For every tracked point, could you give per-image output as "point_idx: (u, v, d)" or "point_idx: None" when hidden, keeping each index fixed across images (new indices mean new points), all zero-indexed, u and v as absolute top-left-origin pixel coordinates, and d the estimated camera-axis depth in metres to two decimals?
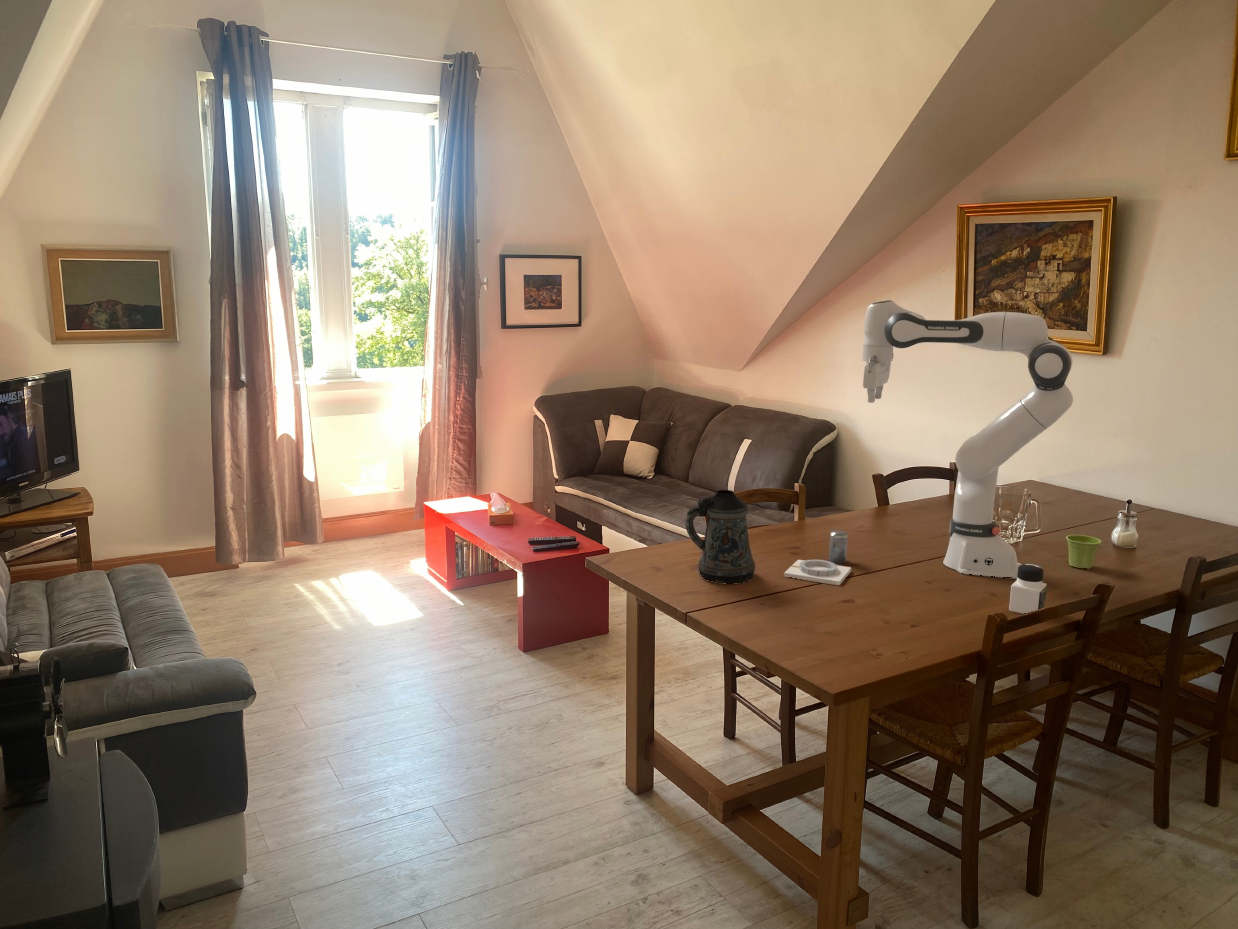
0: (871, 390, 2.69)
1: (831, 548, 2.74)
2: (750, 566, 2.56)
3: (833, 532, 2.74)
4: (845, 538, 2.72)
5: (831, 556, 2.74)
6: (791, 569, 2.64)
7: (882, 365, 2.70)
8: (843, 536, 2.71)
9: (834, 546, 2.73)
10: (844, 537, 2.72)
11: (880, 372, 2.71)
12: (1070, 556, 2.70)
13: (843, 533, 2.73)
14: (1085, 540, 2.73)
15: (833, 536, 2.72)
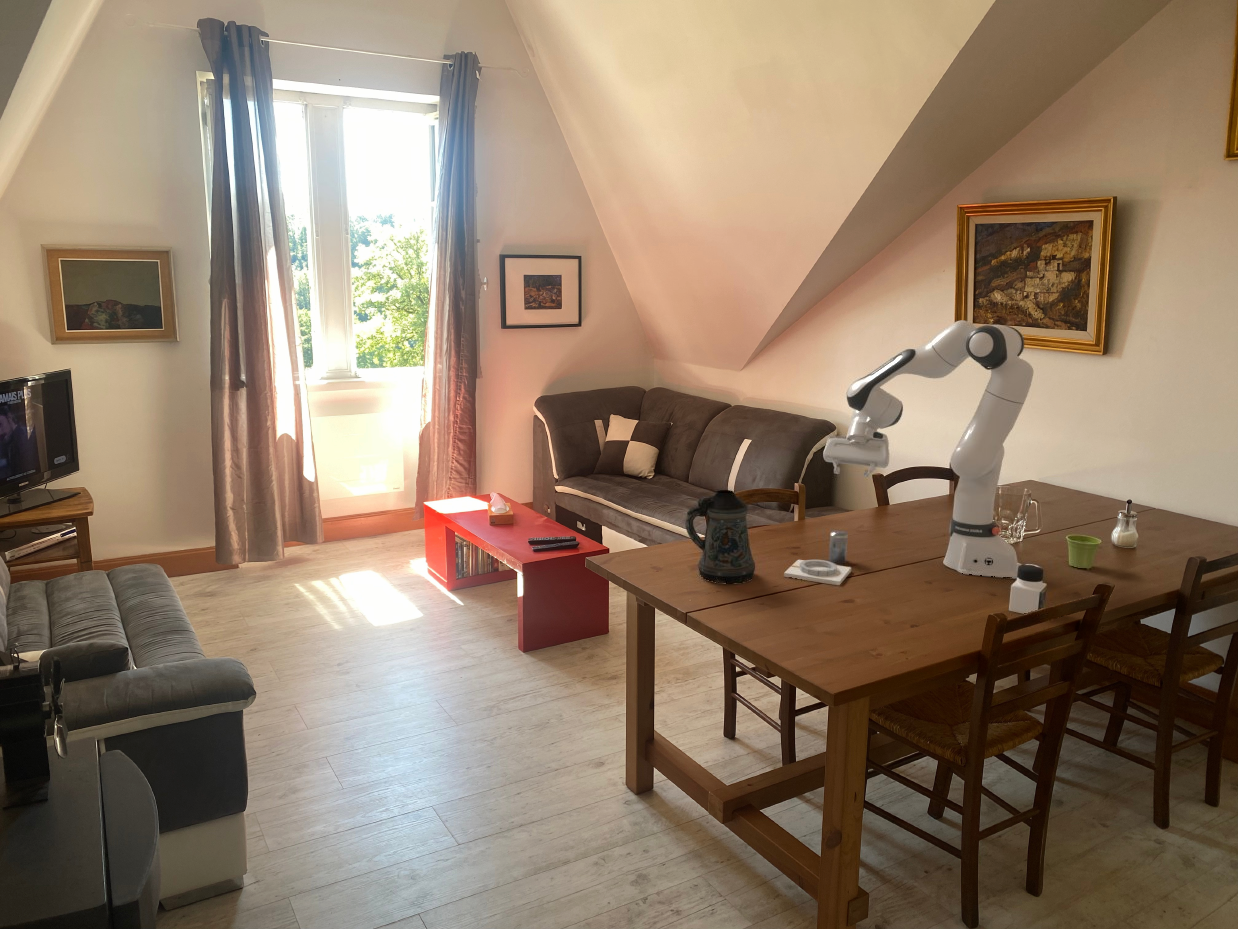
0: None
1: (831, 548, 2.74)
2: (750, 566, 2.56)
3: (833, 532, 2.74)
4: (845, 538, 2.72)
5: (831, 556, 2.74)
6: (791, 569, 2.64)
7: (850, 441, 2.86)
8: (843, 536, 2.71)
9: (834, 546, 2.73)
10: (844, 537, 2.72)
11: (851, 448, 2.85)
12: (1070, 556, 2.70)
13: (843, 533, 2.73)
14: (1085, 540, 2.73)
15: (833, 536, 2.72)
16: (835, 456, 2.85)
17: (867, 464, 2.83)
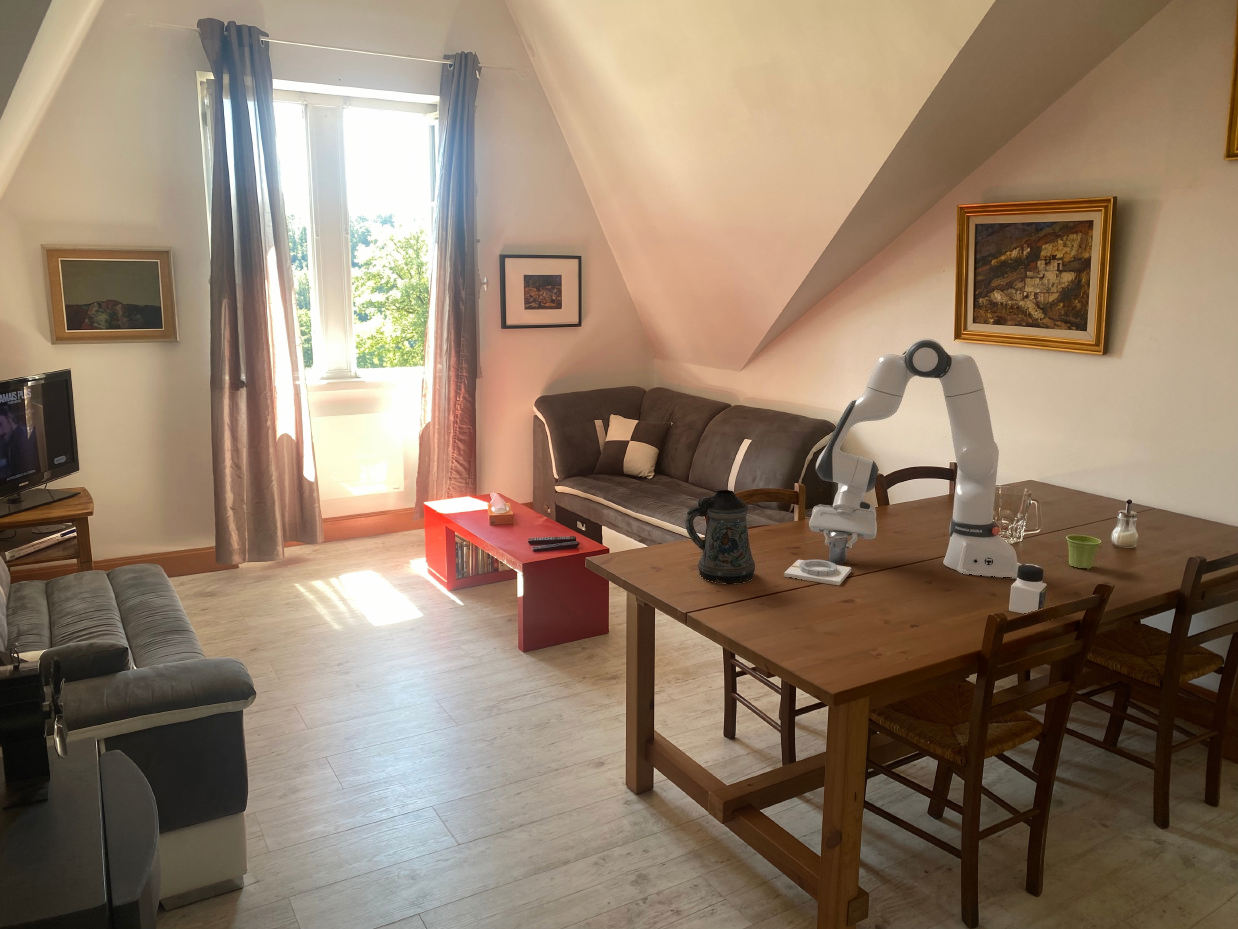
0: None
1: (831, 548, 2.74)
2: (750, 566, 2.56)
3: (833, 532, 2.74)
4: (845, 538, 2.72)
5: (831, 556, 2.74)
6: (791, 569, 2.64)
7: (837, 511, 2.79)
8: (843, 536, 2.71)
9: (834, 546, 2.73)
10: (844, 537, 2.72)
11: (837, 518, 2.78)
12: (1070, 556, 2.70)
13: (843, 533, 2.73)
14: (1085, 540, 2.73)
15: (833, 536, 2.72)
16: (821, 526, 2.78)
17: None
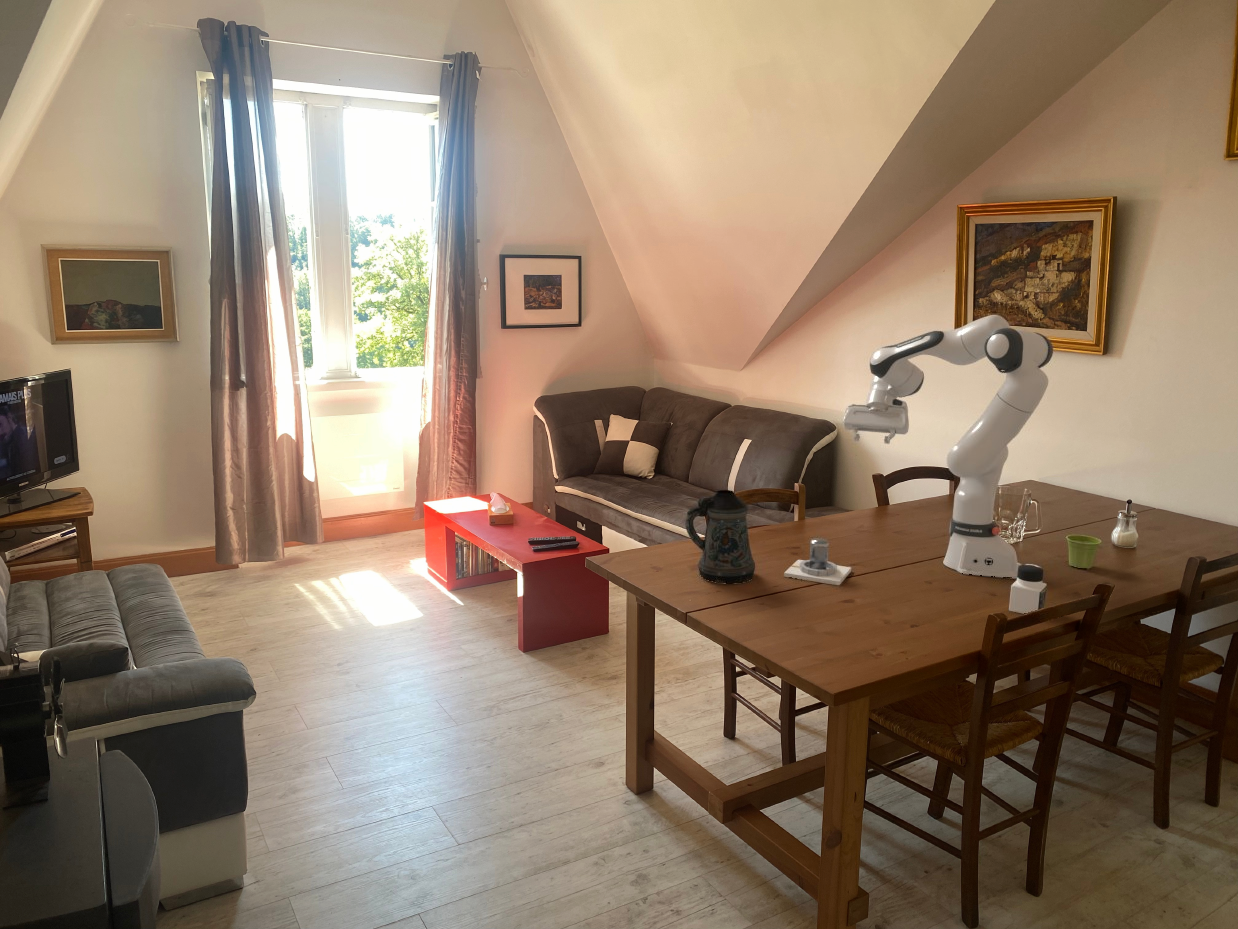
0: (852, 429, 2.88)
1: (811, 557, 2.61)
2: (750, 566, 2.56)
3: (813, 540, 2.61)
4: (826, 546, 2.60)
5: (811, 565, 2.62)
6: (791, 569, 2.64)
7: (870, 408, 2.88)
8: (824, 544, 2.59)
9: (814, 554, 2.60)
10: (825, 545, 2.59)
11: (871, 415, 2.87)
12: (1070, 556, 2.70)
13: (824, 541, 2.60)
14: (1085, 540, 2.73)
15: (813, 544, 2.60)
16: (855, 423, 2.87)
17: (887, 431, 2.85)
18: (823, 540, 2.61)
